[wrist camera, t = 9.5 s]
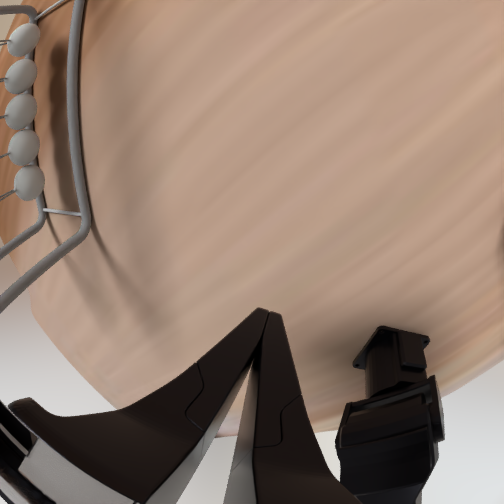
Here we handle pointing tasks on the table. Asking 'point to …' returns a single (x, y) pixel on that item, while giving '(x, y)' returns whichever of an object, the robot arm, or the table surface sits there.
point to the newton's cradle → (28, 143)
